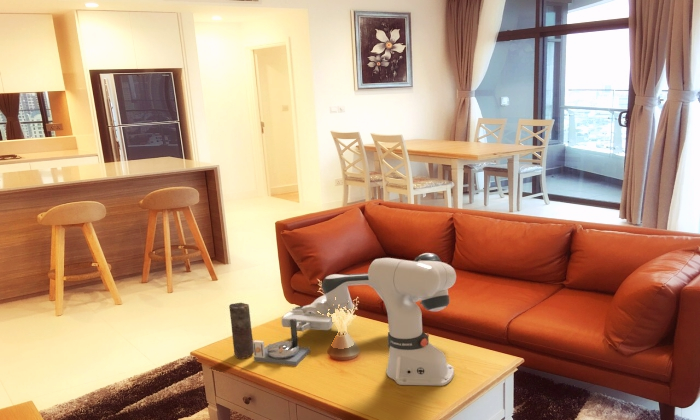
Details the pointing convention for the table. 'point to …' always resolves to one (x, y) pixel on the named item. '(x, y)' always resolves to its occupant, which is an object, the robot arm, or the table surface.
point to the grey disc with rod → (285, 345)
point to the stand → (262, 356)
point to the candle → (241, 330)
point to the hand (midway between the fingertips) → (299, 329)
